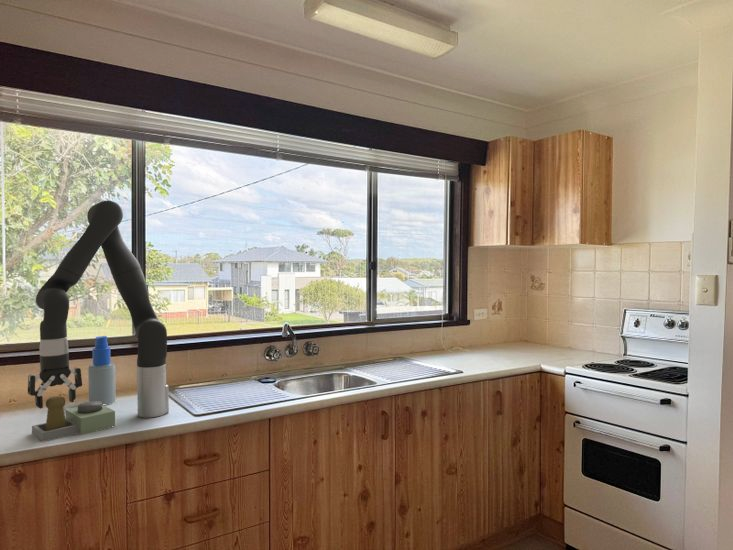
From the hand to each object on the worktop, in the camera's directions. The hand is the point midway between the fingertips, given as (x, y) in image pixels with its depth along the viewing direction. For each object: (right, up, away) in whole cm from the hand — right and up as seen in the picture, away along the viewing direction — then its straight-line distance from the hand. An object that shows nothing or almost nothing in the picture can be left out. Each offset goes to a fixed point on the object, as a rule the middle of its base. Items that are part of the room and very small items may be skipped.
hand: (56, 404), depth 154 cm
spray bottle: (-4, -8, +34) cm, 35 cm away
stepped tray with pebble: (+3, -9, +4) cm, 10 cm away
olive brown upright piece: (0, -9, +1) cm, 9 cm away
